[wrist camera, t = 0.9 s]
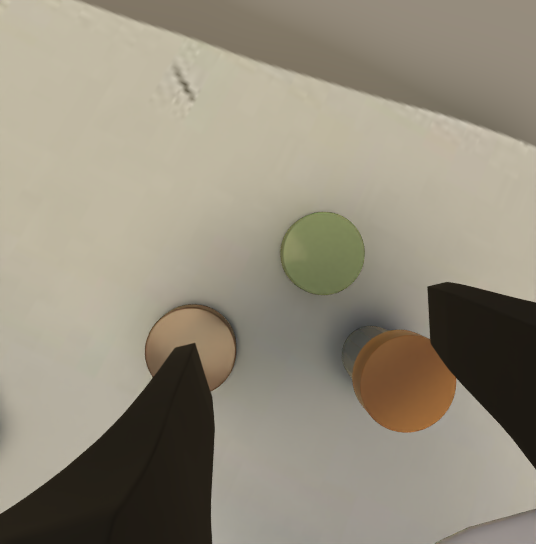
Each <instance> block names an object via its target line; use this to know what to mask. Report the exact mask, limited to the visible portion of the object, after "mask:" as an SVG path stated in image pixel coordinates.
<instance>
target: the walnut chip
mask: <svg viewBox="0 0 536 544" xmlns="http://www.w3.org/2000/svg"><path fill="white" fill-rule="evenodd" d="M192 343H195V344H196V347H197V350H198V353H199V357H200V360H201V363H202V366H203V369H204V373H205V376H206V379H207V382H208V386H209V389H210V392H211V391H213V390H214V389H216V388H217V387H219V386H220V385H221V384H222V383H223V382H224V381H225V380H226V379H227V377H228V376H229V375H230V373H231V371H232V369H233V366H234V363H235V359H236V338H235V335H234V332H233V329H232V327H231V325H230V324H229V322H228V321H227V320H226V318H225V317H224V316H222V315H221V314H220V313H219V312H217V311H216V310H214V309H212V308H210V307H207V306H203V305H197V304H189V305H183V306H180V307H177V308H175V309H173V310H171V311H169V312H168V313H166V314H165V315H164V316H163V317H162V318H160V319H159V320H158V321H157V322H156V324H155V325H154V326H153V327H152V329H151V331H150V333H149V335H148V337H147V341H146V346H145V359H146V363H147V367H148V369H149V371H150V373H151V375H152V377H154V376H155V374H156V373H157V372H158V370H159V369H160V367H161V366H162V365H163V363H164V362H165V360H166V359H167V358H168V356H169V355H170V353H171V352H172V351H173V349H174V348H175V347H180V346H184V345H188V344H192Z"/></svg>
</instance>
